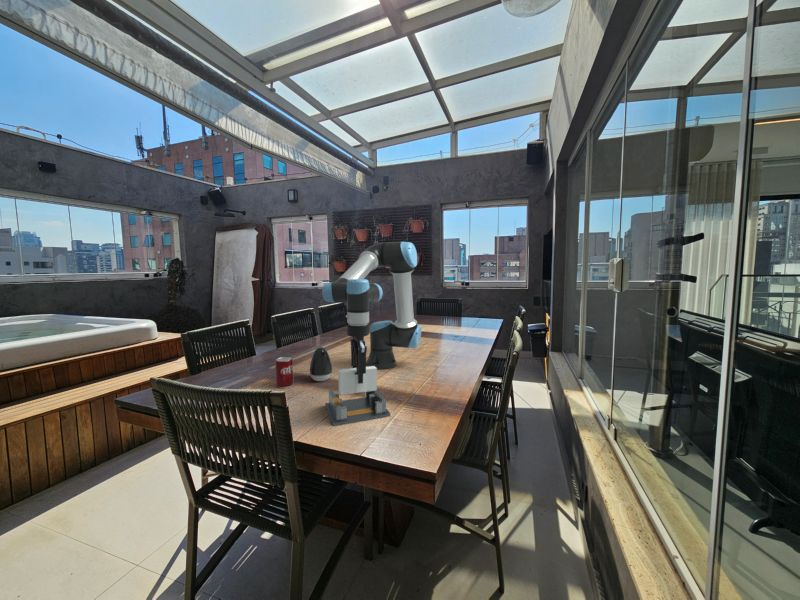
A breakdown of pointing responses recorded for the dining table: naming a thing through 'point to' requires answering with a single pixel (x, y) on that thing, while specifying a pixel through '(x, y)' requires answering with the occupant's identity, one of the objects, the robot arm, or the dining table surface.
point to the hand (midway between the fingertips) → (358, 389)
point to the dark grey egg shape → (320, 365)
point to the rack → (356, 408)
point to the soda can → (284, 372)
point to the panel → (349, 380)
